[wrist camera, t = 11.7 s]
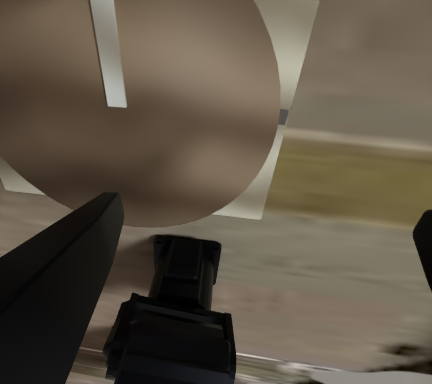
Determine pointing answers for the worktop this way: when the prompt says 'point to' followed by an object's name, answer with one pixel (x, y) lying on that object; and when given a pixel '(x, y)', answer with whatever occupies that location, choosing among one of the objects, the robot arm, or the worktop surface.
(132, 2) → the walnut dial
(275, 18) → the birch board
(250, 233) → the worktop surface
